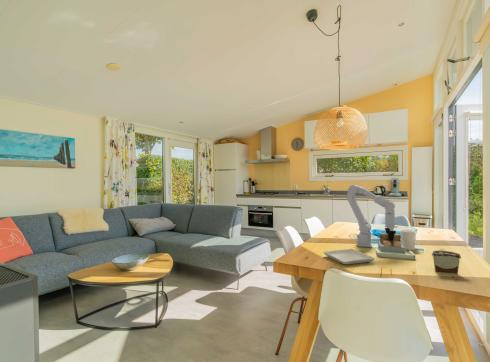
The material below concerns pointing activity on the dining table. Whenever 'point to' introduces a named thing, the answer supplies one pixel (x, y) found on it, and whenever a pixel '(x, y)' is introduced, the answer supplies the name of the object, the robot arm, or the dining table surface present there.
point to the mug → (408, 239)
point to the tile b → (396, 244)
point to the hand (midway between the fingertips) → (390, 239)
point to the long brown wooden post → (385, 238)
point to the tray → (396, 255)
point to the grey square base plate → (391, 248)
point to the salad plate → (349, 256)
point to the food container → (446, 262)
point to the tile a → (386, 243)
